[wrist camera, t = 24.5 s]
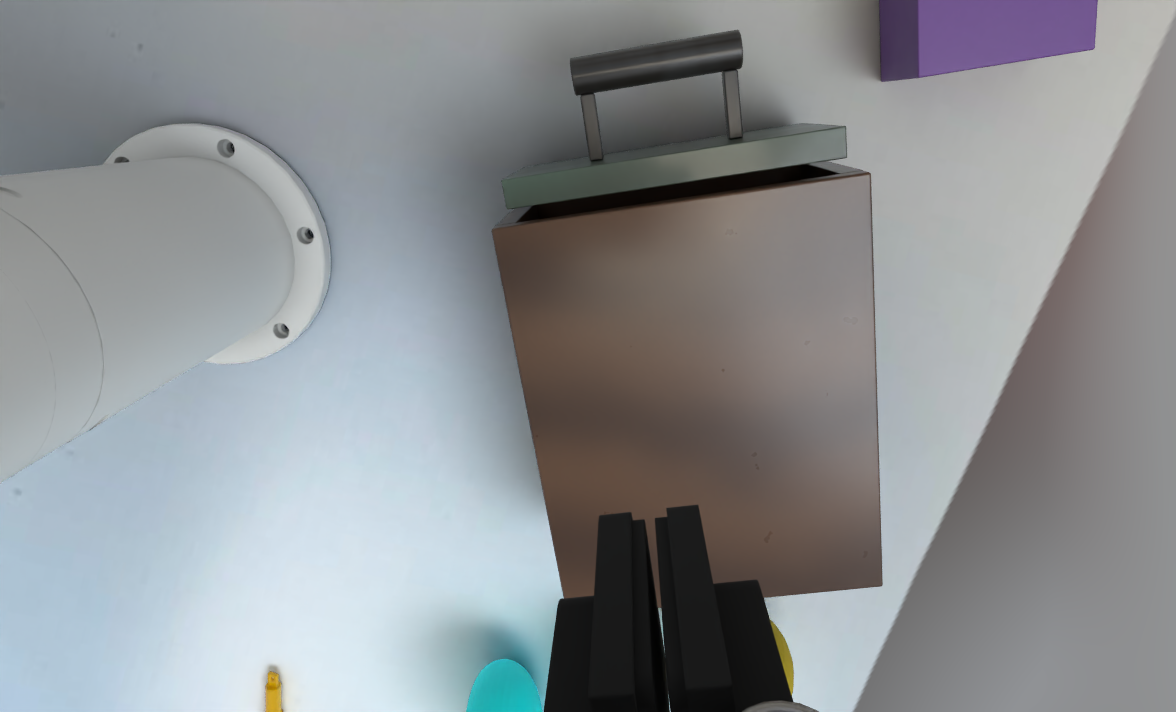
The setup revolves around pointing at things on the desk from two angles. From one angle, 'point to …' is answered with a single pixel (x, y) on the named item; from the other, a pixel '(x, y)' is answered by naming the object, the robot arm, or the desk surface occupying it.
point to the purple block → (978, 33)
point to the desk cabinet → (706, 370)
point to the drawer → (669, 160)
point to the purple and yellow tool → (273, 693)
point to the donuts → (504, 689)
